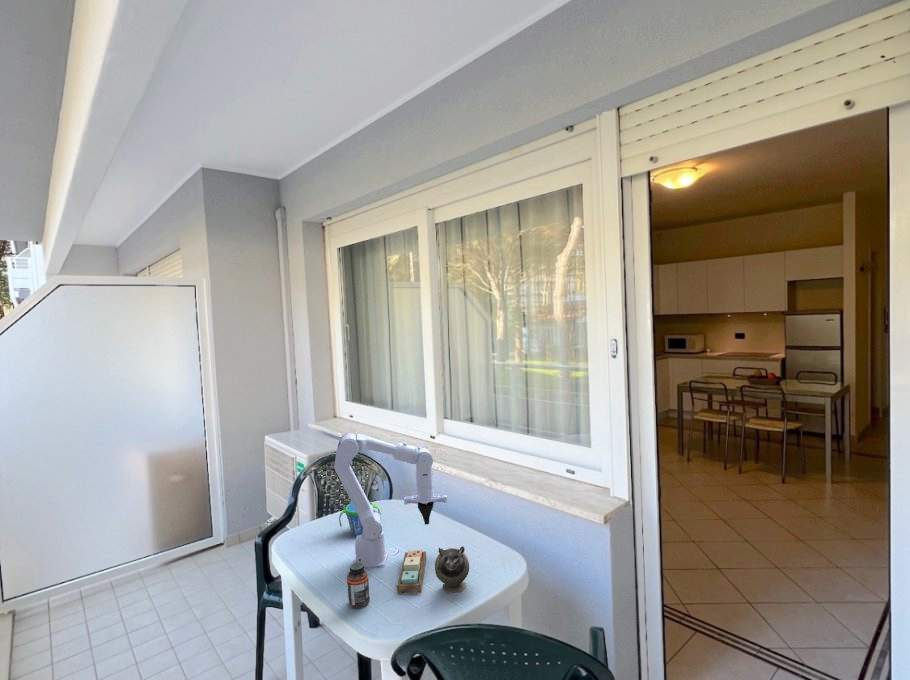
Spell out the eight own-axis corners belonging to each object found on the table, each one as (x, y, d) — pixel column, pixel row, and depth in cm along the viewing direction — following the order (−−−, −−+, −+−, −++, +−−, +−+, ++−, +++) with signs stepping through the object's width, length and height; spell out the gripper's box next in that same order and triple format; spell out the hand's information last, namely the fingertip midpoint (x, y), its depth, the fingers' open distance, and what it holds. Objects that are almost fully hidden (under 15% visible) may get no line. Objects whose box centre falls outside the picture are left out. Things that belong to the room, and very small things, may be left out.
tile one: (404, 574, 147) (403, 564, 147) (406, 566, 152) (405, 556, 152) (419, 574, 147) (418, 563, 147) (420, 566, 152) (419, 556, 151)
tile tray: (397, 593, 140) (397, 585, 140) (405, 559, 159) (405, 552, 159) (421, 592, 140) (420, 584, 140) (426, 558, 159) (426, 551, 159)
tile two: (402, 589, 141) (401, 579, 141) (404, 581, 146) (403, 570, 145) (417, 589, 141) (416, 578, 141) (418, 580, 146) (418, 570, 145)
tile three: (407, 567, 153) (406, 557, 153) (408, 560, 158) (408, 550, 158) (421, 566, 153) (420, 556, 153) (422, 559, 158) (421, 549, 158)
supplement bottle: (350, 597, 139) (347, 560, 138) (370, 595, 140) (368, 558, 139) (347, 610, 133) (344, 571, 132) (368, 608, 134) (366, 569, 133)
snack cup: (339, 540, 175) (337, 514, 174) (341, 528, 185) (339, 502, 185) (381, 535, 177) (380, 509, 177) (381, 523, 188) (379, 498, 187)
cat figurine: (443, 601, 135) (476, 591, 139) (439, 561, 134) (473, 552, 138) (432, 583, 145) (463, 574, 148) (429, 545, 144) (460, 537, 147)
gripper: (402, 489, 158) (404, 529, 158) (445, 487, 157) (447, 527, 158) (404, 482, 165) (407, 520, 165) (446, 480, 164) (448, 518, 165)
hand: (427, 523), depth 162 cm, fingers closed
